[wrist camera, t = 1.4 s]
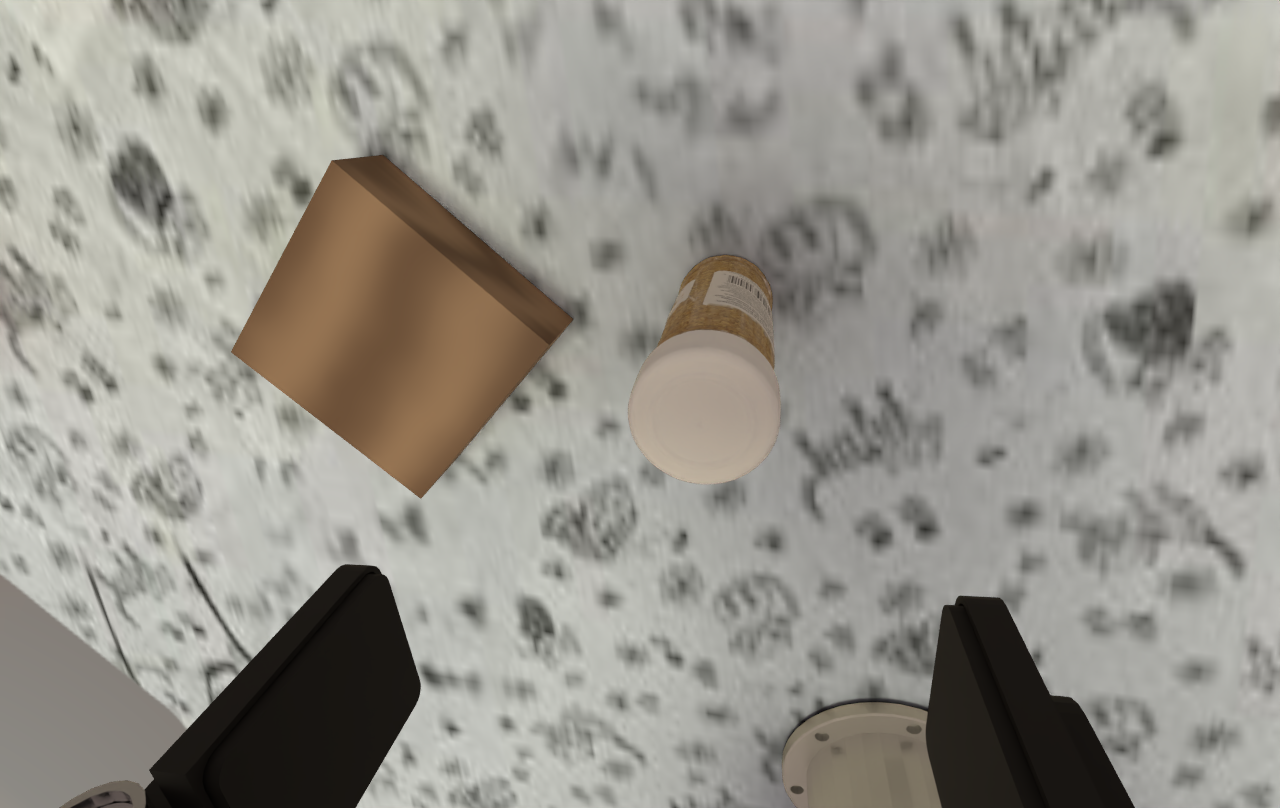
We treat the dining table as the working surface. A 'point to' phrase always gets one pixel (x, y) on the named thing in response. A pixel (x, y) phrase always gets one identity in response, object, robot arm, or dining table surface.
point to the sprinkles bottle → (711, 378)
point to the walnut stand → (395, 322)
